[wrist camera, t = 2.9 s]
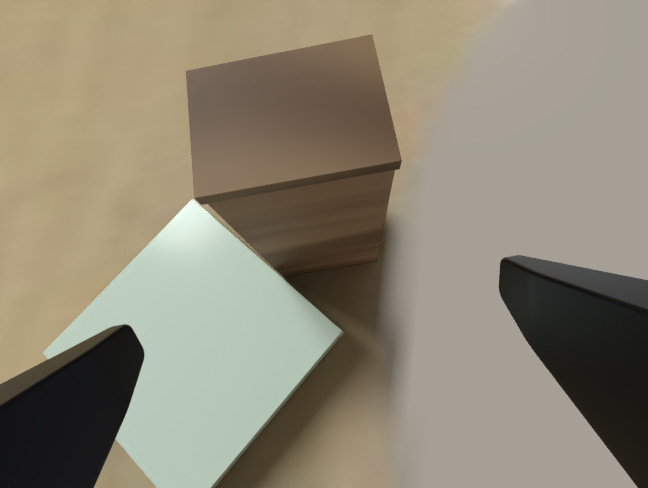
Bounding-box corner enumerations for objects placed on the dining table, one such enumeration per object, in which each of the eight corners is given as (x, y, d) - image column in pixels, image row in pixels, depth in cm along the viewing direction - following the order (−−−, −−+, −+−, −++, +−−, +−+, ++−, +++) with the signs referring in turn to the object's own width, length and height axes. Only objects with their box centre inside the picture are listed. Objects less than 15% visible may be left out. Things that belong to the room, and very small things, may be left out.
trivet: (344, 332, 21) (342, 330, 19) (205, 499, 20) (183, 519, 17) (208, 214, 24) (192, 199, 22) (76, 352, 22) (42, 352, 20)
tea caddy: (378, 262, 22) (401, 160, 10) (282, 279, 23) (194, 198, 11) (365, 195, 24) (372, 34, 12) (273, 212, 24) (185, 71, 12)
